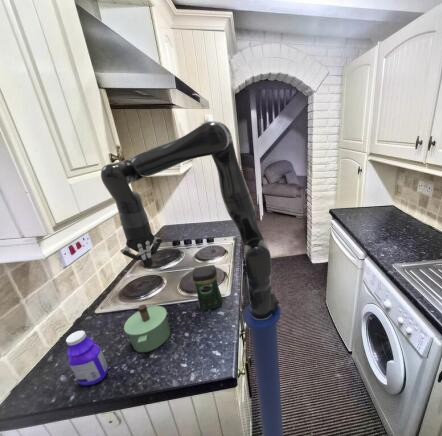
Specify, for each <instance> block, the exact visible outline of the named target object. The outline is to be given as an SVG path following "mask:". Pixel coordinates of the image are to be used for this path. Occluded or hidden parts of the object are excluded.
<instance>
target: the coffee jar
mask: <svg viewBox="0 0 442 436" xmlns="http://www.w3.org/2000/svg"><path fill="white" fill-rule="evenodd" d="M217 278H218V270H217V267H216V266H215V265H214V264H209V265H204V266H197V267H194V268H193V271H192V282H193V284H194V285H195V288H196V295H197V305H198V308H199V310H201V311H210V310H214V309H217V308H220V306H221V305H222V303H223V298H222V297H223V296H222V293H221V291H220V287H219V283H218V280H217Z"/></svg>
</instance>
